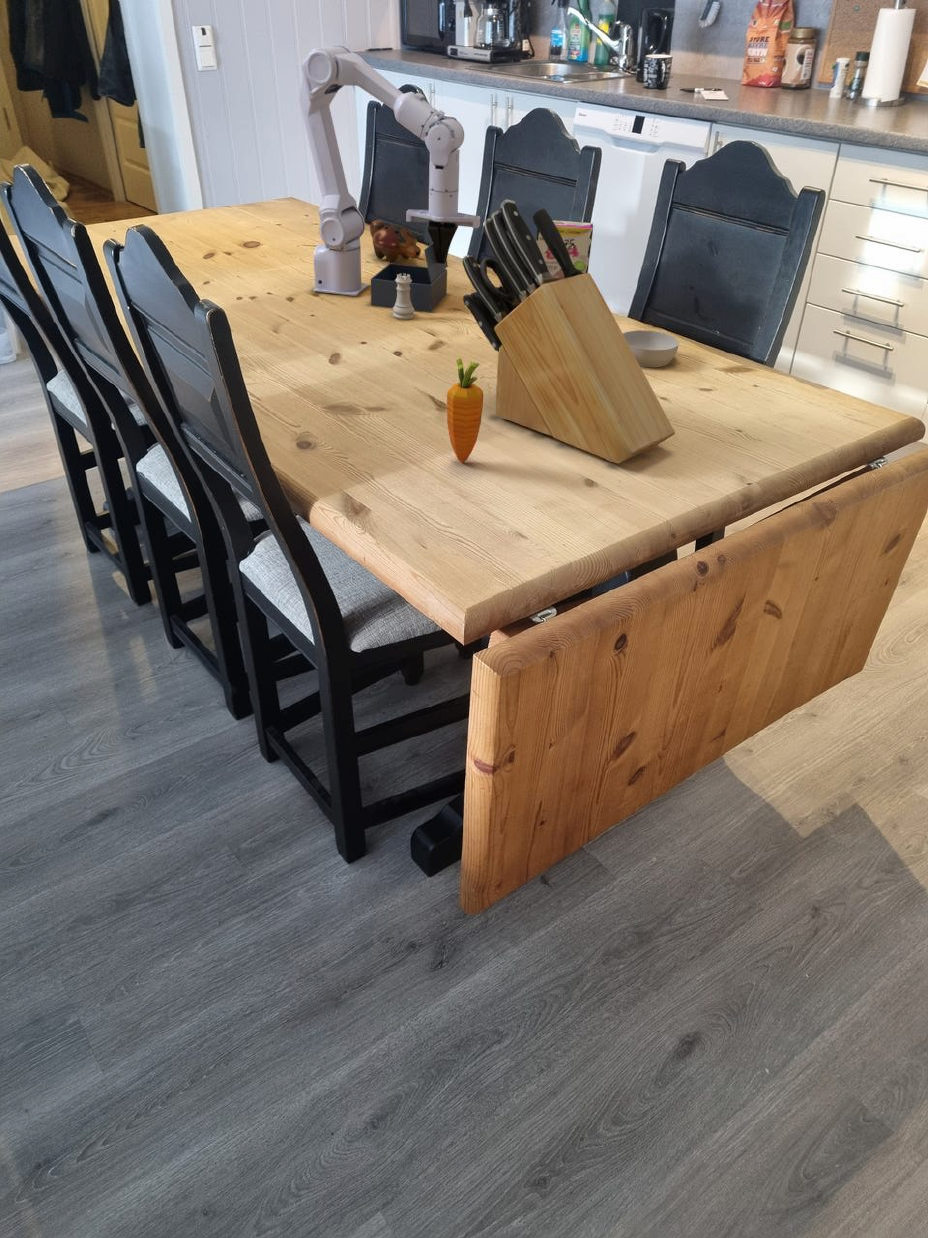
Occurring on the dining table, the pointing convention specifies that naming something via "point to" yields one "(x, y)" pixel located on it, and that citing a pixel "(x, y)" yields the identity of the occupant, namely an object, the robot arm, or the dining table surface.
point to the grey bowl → (652, 347)
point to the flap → (433, 263)
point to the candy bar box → (569, 246)
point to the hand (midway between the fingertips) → (442, 262)
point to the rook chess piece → (403, 299)
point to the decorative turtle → (393, 241)
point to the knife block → (559, 345)
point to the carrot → (464, 412)
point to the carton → (421, 290)
